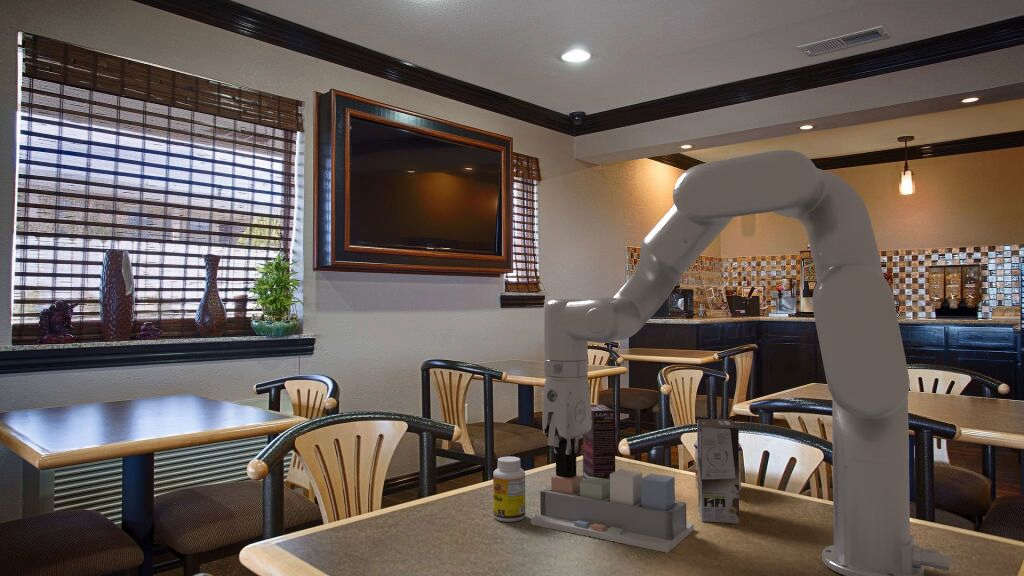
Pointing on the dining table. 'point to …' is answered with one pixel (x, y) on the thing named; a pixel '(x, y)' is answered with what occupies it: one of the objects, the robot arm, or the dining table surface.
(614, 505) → the grey block holder
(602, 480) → the key
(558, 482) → the pink block
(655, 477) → the blue-grey block
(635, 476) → the key
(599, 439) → the supplement box
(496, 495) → the supplement bottle
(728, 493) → the coffee box
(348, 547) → the dining table surface
